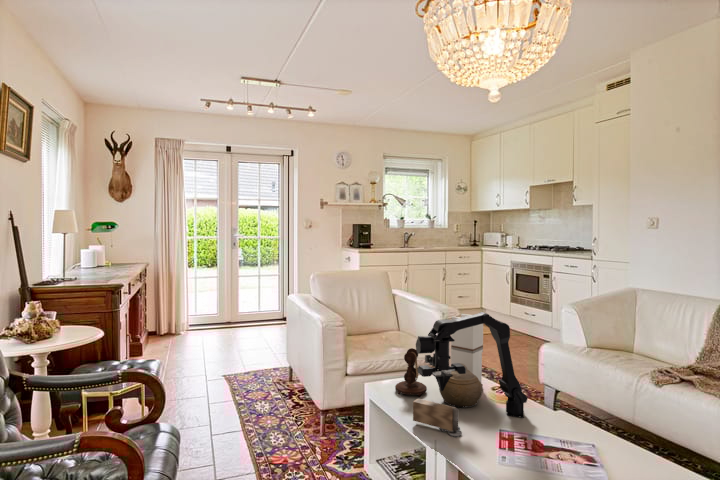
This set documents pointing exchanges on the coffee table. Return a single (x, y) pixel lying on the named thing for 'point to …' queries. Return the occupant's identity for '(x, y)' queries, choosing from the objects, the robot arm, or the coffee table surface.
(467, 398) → the brown round pot
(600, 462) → the coffee table surface
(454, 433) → the hinge base
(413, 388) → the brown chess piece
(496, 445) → the coffee table surface
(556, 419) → the coffee table surface
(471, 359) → the white square post
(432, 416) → the block
